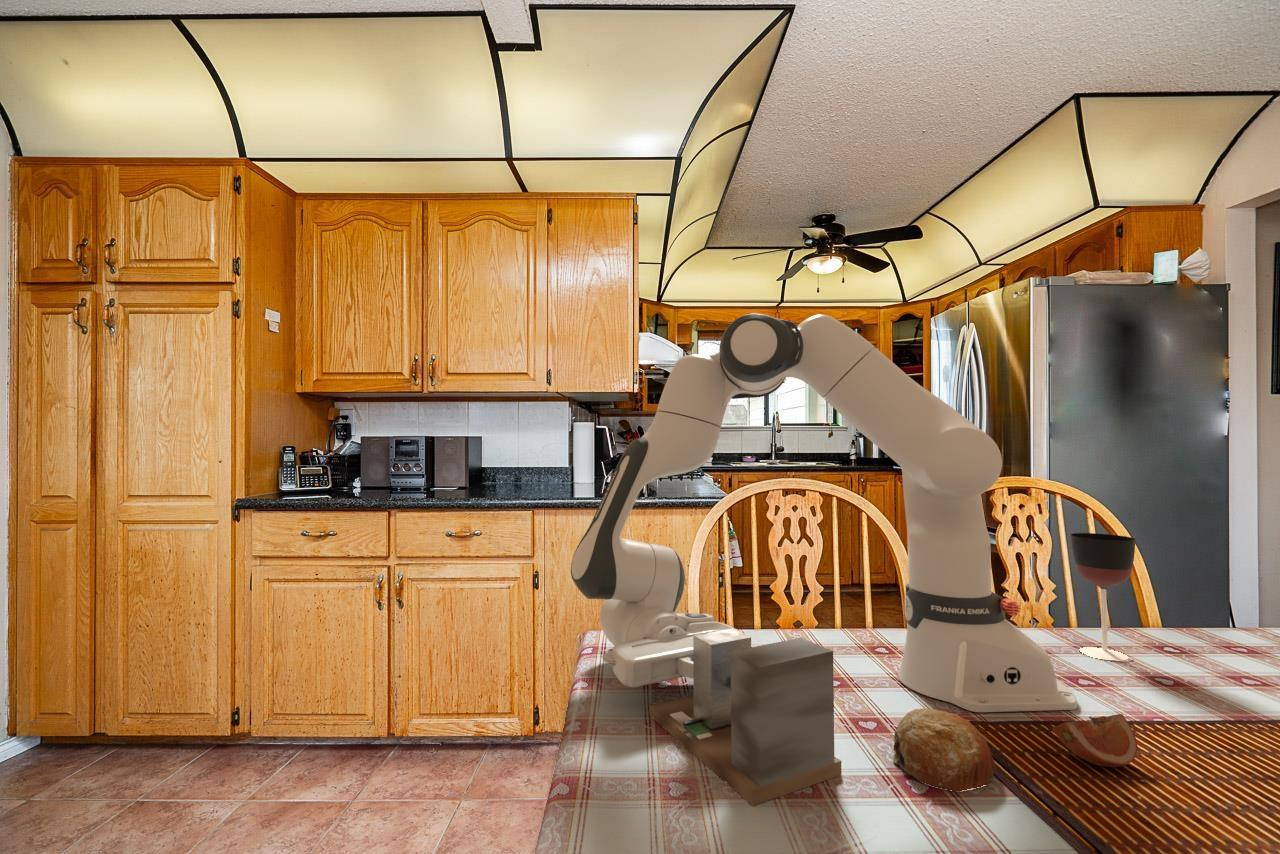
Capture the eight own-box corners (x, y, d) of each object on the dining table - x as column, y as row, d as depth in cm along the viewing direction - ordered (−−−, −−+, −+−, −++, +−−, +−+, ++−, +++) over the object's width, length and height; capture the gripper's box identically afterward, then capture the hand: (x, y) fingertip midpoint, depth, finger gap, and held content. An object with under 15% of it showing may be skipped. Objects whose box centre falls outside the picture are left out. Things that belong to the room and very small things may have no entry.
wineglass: (1073, 643, 106) (1070, 531, 107) (1136, 652, 101) (1132, 536, 102) (1073, 655, 100) (1070, 537, 100) (1140, 667, 95) (1137, 542, 95)
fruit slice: (1090, 781, 63) (1089, 734, 63) (1036, 749, 69) (1035, 706, 70) (1153, 772, 65) (1152, 726, 65) (1094, 742, 71) (1093, 700, 71)
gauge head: (675, 719, 73) (675, 638, 73) (732, 705, 77) (732, 628, 77) (707, 745, 67) (706, 656, 67) (767, 728, 71) (766, 644, 71)
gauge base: (649, 715, 78) (649, 613, 79) (723, 697, 84) (723, 601, 84) (753, 805, 59) (751, 668, 59) (841, 774, 64) (839, 649, 64)
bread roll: (892, 777, 70) (863, 716, 70) (965, 736, 71) (937, 676, 71) (941, 831, 60) (908, 761, 60) (1026, 783, 61) (993, 714, 61)
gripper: (597, 631, 83) (642, 663, 71) (717, 612, 93) (775, 637, 80) (597, 676, 83) (642, 716, 71) (717, 652, 92) (775, 684, 80)
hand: (713, 674), depth 76 cm, fingers closed, pressing on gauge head
